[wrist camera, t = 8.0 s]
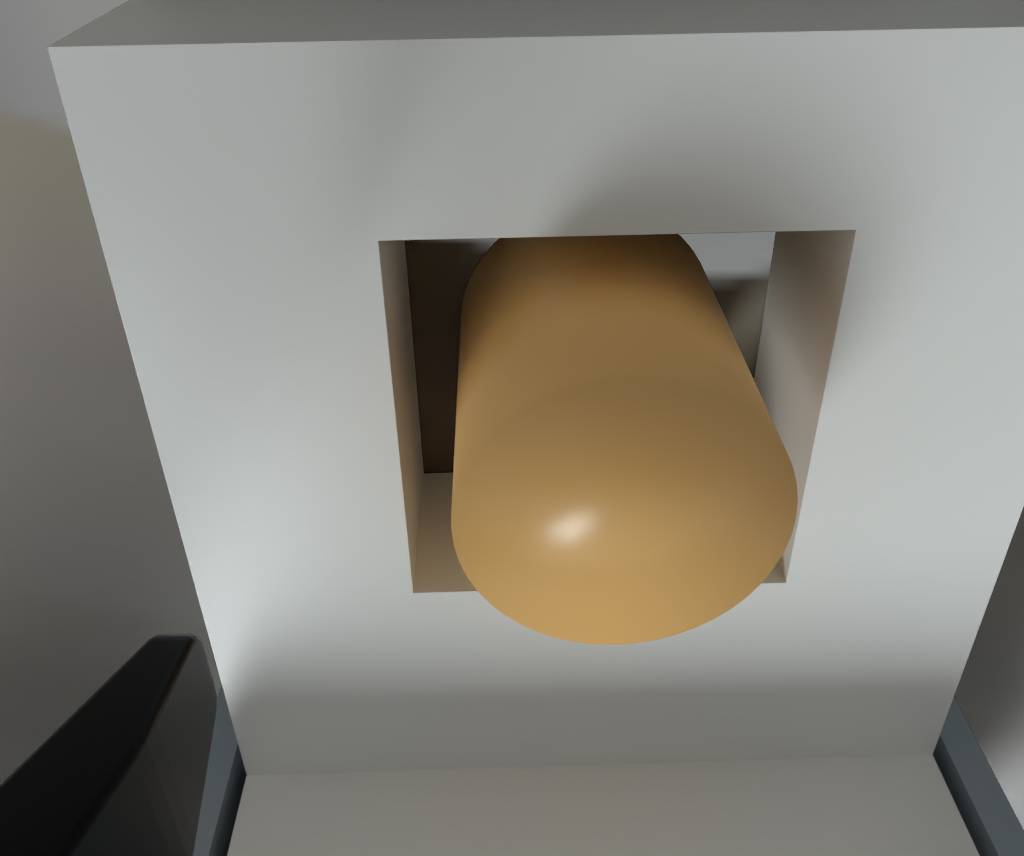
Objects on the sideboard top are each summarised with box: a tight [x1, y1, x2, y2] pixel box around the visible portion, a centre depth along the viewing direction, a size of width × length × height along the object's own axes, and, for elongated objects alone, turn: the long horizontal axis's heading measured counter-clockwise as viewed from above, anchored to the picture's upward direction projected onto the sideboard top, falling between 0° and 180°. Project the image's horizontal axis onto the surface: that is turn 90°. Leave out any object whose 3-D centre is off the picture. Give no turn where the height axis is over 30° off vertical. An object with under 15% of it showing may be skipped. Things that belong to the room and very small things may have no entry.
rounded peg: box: [451, 234, 798, 645], centre depth 13 cm, size 4×4×5 cm
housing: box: [47, 0, 1024, 856], centre depth 16 cm, size 12×20×5 cm, turn 1°
